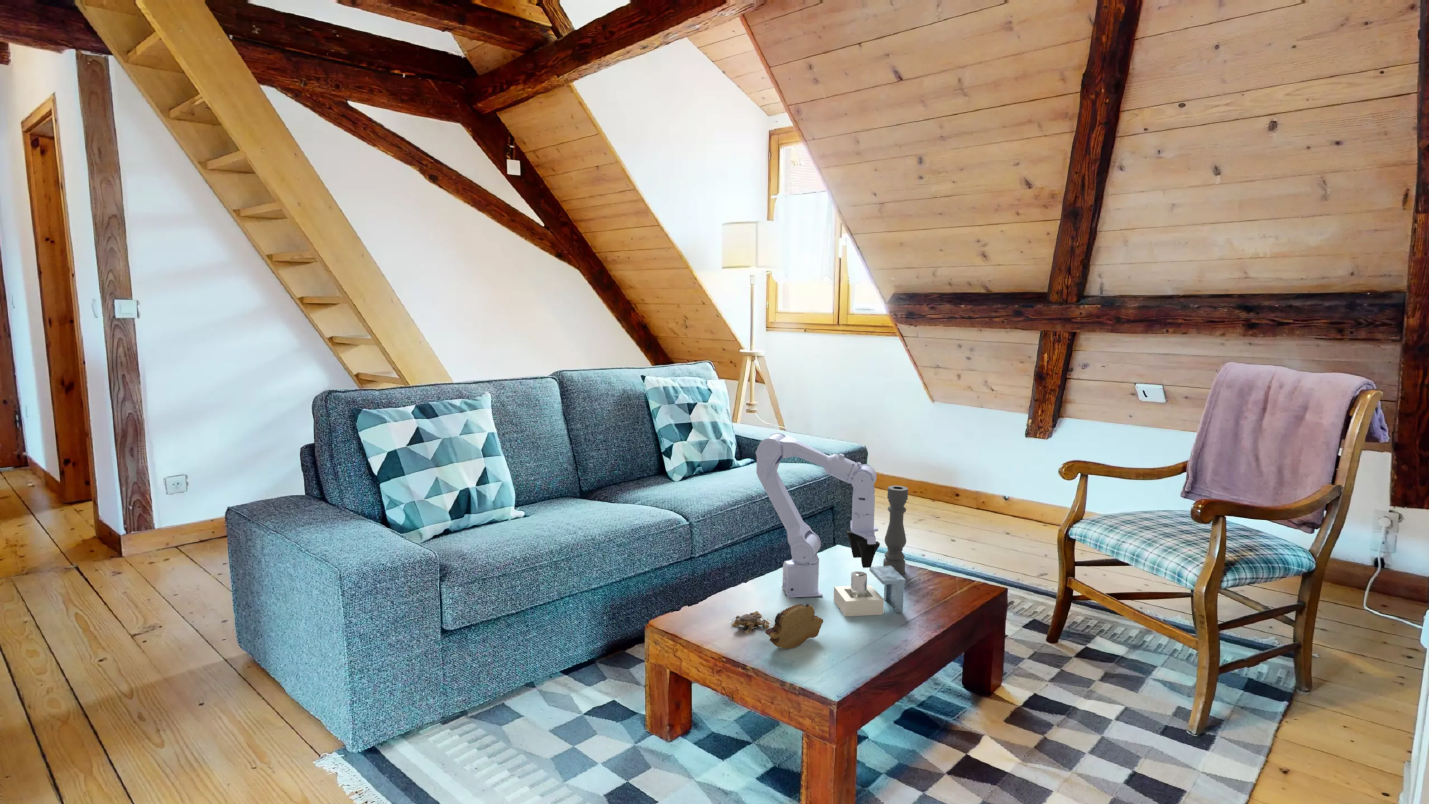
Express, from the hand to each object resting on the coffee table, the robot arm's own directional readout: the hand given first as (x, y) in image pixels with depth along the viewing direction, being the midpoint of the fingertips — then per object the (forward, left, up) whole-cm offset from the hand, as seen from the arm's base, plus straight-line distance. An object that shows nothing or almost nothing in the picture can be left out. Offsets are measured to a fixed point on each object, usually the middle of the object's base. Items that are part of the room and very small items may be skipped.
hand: (861, 562), depth 212 cm
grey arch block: (+5, -5, -10) cm, 13 cm away
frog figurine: (-32, -12, -11) cm, 36 cm away
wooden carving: (-24, -24, -11) cm, 36 cm away
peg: (-2, -5, -9) cm, 11 cm away
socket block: (-2, -5, -10) cm, 12 cm away
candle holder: (+17, +19, -11) cm, 28 cm away
